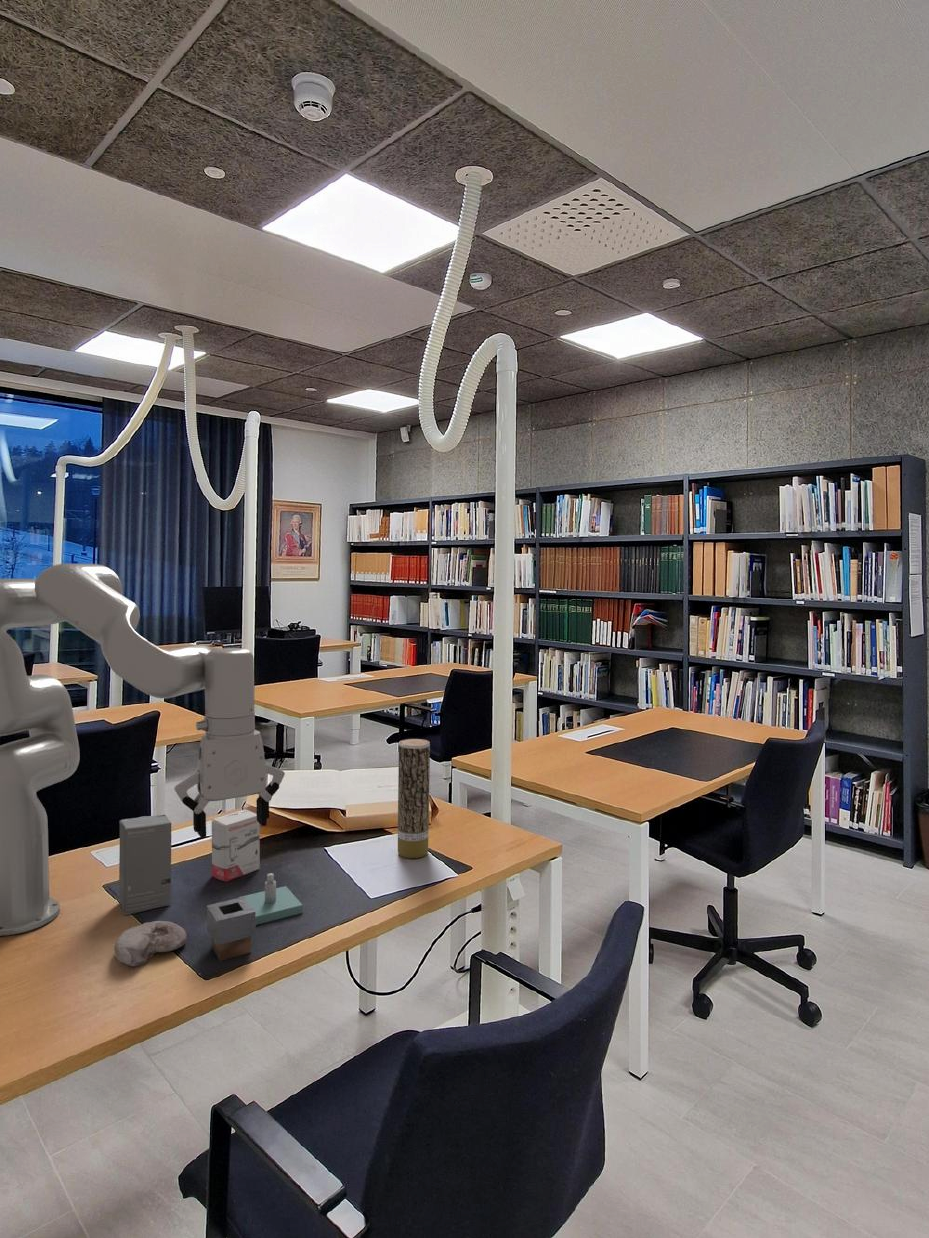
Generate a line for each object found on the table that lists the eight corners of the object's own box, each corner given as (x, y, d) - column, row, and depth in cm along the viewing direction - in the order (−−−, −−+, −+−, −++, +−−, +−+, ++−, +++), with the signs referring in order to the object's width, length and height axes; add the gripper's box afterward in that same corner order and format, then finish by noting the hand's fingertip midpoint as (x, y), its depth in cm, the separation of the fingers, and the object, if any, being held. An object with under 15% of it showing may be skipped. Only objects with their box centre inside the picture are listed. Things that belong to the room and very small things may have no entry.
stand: (219, 960, 115) (219, 935, 115) (211, 946, 119) (211, 922, 119) (250, 952, 118) (250, 927, 118) (242, 938, 122) (241, 914, 122)
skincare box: (124, 916, 129) (122, 830, 128) (118, 901, 135) (116, 818, 134) (173, 905, 133) (172, 822, 132) (166, 890, 139) (165, 810, 138)
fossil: (159, 906, 125) (199, 923, 120) (157, 929, 125) (197, 948, 121) (95, 932, 115) (136, 952, 110) (93, 958, 115) (134, 979, 110)
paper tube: (434, 852, 160) (436, 741, 159) (416, 862, 155) (417, 748, 153) (409, 845, 164) (411, 737, 162) (391, 855, 158) (392, 743, 157)
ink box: (224, 883, 143) (224, 825, 142) (210, 876, 146) (210, 819, 145) (260, 868, 150) (260, 813, 149) (246, 862, 153) (246, 808, 152)
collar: (216, 945, 114) (216, 921, 114) (206, 928, 119) (206, 905, 119) (255, 935, 117) (255, 911, 117) (244, 919, 123) (244, 896, 122)
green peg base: (253, 925, 127) (253, 889, 126) (238, 904, 134) (238, 870, 134) (302, 912, 132) (302, 878, 131) (285, 893, 139) (285, 860, 139)
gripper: (178, 736, 108) (181, 847, 109) (290, 723, 117) (291, 826, 119) (168, 727, 114) (171, 832, 115) (275, 715, 124) (276, 813, 125)
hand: (232, 829), depth 117 cm, fingers open, 9 cm apart
